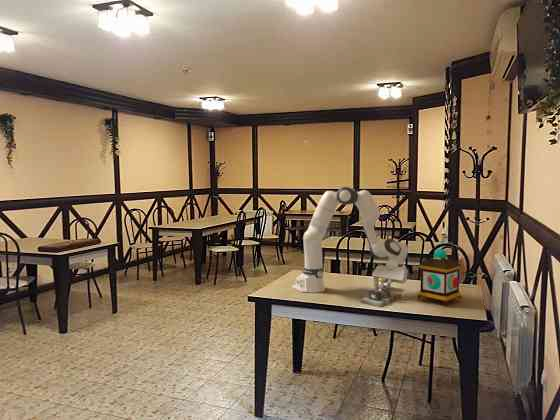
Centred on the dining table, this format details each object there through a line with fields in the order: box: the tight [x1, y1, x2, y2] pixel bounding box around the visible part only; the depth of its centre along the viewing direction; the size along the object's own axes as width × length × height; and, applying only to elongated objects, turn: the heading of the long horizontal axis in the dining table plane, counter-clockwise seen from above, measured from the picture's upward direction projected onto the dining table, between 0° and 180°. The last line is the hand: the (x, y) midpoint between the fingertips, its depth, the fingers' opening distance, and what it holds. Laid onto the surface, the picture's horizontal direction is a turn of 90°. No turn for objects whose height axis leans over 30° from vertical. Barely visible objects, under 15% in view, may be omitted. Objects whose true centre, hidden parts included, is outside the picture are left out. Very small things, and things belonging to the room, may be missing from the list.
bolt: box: [371, 278, 386, 299], centre depth 241 cm, size 10×3×10 cm, turn 137°
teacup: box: [372, 276, 392, 291], centre depth 270 cm, size 14×11×8 cm
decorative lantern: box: [417, 247, 462, 308], centre depth 241 cm, size 20×20×30 cm
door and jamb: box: [359, 289, 402, 308], centre depth 244 cm, size 24×12×6 cm, turn 137°
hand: (384, 286), depth 246 cm, fingers closed
